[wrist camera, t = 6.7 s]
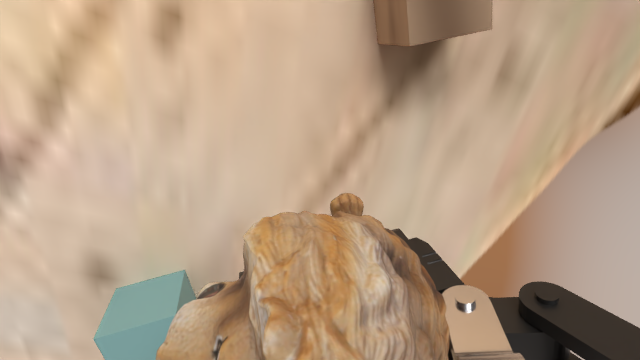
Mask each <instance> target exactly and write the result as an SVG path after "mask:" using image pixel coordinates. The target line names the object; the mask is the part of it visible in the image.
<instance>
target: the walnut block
mask: <svg viewBox="0 0 640 360" xmlns="http://www.w3.org/2000/svg"><path fill="white" fill-rule="evenodd" d="M373 3H374V12H375V22H376V31H377V41H378V44H386V45H398V46H414V45H419V44H424V43H429V42H433V41H438V40H443V39H448V38H452V37H457V36H462V35H467V34H471V33H476V32H481V31H486V30H490V29H492V0H373Z"/></svg>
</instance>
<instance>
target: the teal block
mask: <svg viewBox="0 0 640 360" xmlns="http://www.w3.org/2000/svg"><path fill="white" fill-rule="evenodd" d="M192 300H196V297H195V294H194V292H193V289H192V287H191V284H190V282H189V279H188V277H187V274H186V272H185V270H183V271H179V272H175V273H172V274H168V275H164V276H161V277H157V278H153V279H150V280H146V281H143V282H139V283H135V284H132V285H128V286H124V287H121V288H117V289H116V290H115V292H114V295H113V297H112V299H111V301H110V303H109V306H108V308H107V310H106V312H105V314H104V317H103V319H102V321H101V323H100V325H99V328H98V330H97V332H96V334H95V336H94V339H93V340H94V341H95V343H96V345H97V346H98V348H99V350H100V352H101V353H102V355H103V357H104V358H105V360H156V354H157V350H158V348H159V347H160V346H161V345H162V344H163V342H164V341H165V339H166V336H167V333H168V330H169V327H170V324H171V322H172V320H173V318H174V316H175V315H176V313H177V312H178V311H179V309H180V308H181V307H182V306H183V305H184V304H186V303H188V302H190V301H192Z"/></svg>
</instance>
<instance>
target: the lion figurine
mask: <svg viewBox="0 0 640 360" xmlns="http://www.w3.org/2000/svg"><path fill="white" fill-rule="evenodd" d="M363 207H364V206H363V202H362V200H361V199H360V198H359V197H357V196H355V195H353V194H350V193H344V194H340V195H339V196H338V197H336V198H335V199H333V200H332V201H331V204H330V210H331V215H332V216H330V215H326V214H319V215H317V214H312V213H310V212H307V211H303V212H301V213H299V214H296V213H292V212H286V213H280V214H278V215H275V216H273V217H264V218H262V219H261V221H260V222H257V223H255V224H254V225H253V226H252V227H251V228H250V229H249V230H248V232H247V233H246V234H245V235H244V236H243V238H244V241H245V243H244V249H243V257H244V274H243V275H242V276H241V278H240V279H239V280H237V281H235V282H221V283H218V282H212V283H209V284H206V285H205V286H204V287H203V288H202V289H201V290H200V292H199V294H198V296H197V299H196V300H192V301H190V302H188V303H186V304H184V305H183V306H182V307H181V308H180V309H179V311H178V312H177V313H176V315H175V316H174V318H173V320H172V322H171V324H170V327H169V330H168V333H167V336H166V339H165V341H164V342H163V344H162V345H161V346H160V347H159V348H158V350H157V354H156V360H449V359H448V351H449V340H450V330H449V326H448V323H447V321H446V317H445V313H446V303H445V300H444V297H443V295H442V294H441V293H440V292H438V291H437V290H436V287H435V284H434V282H433V280H432V279H431V277H430V275H429V274H428V272H427V271H426V269H425V268H424V266H422V265H421V264H420V259H419V257H418V255H417V254H416V253H415V252H414V251H413V250H411V249H410V247H409V246H408V245H407V244H406V242H405V241H404V240H403V239H401V238H400V237H399V236H398V235H396V234H395V233H394V232H393V231H391V230H389V229H386V228H384V227H383V225H382V223H381V222H380V221H378V220H376V219H375V218H373V217H371V216H367V215H363V216H362V212H363Z"/></svg>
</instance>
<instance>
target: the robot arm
mask: <svg viewBox="0 0 640 360" xmlns="http://www.w3.org/2000/svg"><path fill="white" fill-rule="evenodd" d="M391 231H393V232H394V233H395V234H396V235H398V236H399V237H400V238H401V239H403V240H404V241H405V242H406V244H407V245H408V246H409V247H410V249H411V250H413V251H414V252H415V253H416V254H417V255H418V257H419V259H420V264H421V265H422V266H424V268H425V269H426V271H427V272H428V274H429V275H430V277H431V279H432V280H433V282H434V284H435V287H436V290H437V291H438V292H440V293H441V294H442V295H443V297H444V300H445V303H446V313H445V317H446V321H447V323H448V326H449V330H450V340H449V351H448V359H449V360H581V359H580V358H578V357H577V356H575V355H574V354H572V353H571V352H570V350H572V351H573V352H574V353H576V354H577V355H579V356H580V357H582V358H583V359H585V360H640V328H638V327H636V326H634V325H633V324H631V323H629V322H627V321H625V320H623V319H621V318H619V317H617V316H615V315H614V314H612V313H610V312H608V311H606V310H604V309H602V308H600V307H598V306H597V305H595V304H593V303H591V302H589V301H587V300H585V299H583V298H581V297H579V296H578V295H575V294H574V293H572V292H570V291H568V290H566V289H564V288H562V287H560V286H558V285H555V284H552V283H547V282H531V283H528V284H526V285H524V286H523V287H522V288H521V289H520V292H519V297H507V298H492V297H488V296H487V295H486V294H485V293H484V292H483V291H481V290H480V289H477V288H475V287H472V286H467V285H464V283H463V282H462V281H461V280H460V279H459V278H458V277H457V275H456V274H455V273H454V272H453V271H452V270H451V269H450V268H449V266H448V265H447V264H446V263H445V262H444V261H442V259H441V257H440V256H439V255H438V254H436V252H435V251H434V250H433V248H432V247H431V246H430V245H429V244H428V243H426V242H424V241H422V240H420V239H418V238H412V239H409V240H408V238H407V237H406V236H405V235H404V233H403V232H402V231H401V230H400V229H399V228H398V229H394V230H391ZM243 274H244V271H243V272H240V273H239V279H240V278H241V276H242V275H243Z"/></svg>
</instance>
